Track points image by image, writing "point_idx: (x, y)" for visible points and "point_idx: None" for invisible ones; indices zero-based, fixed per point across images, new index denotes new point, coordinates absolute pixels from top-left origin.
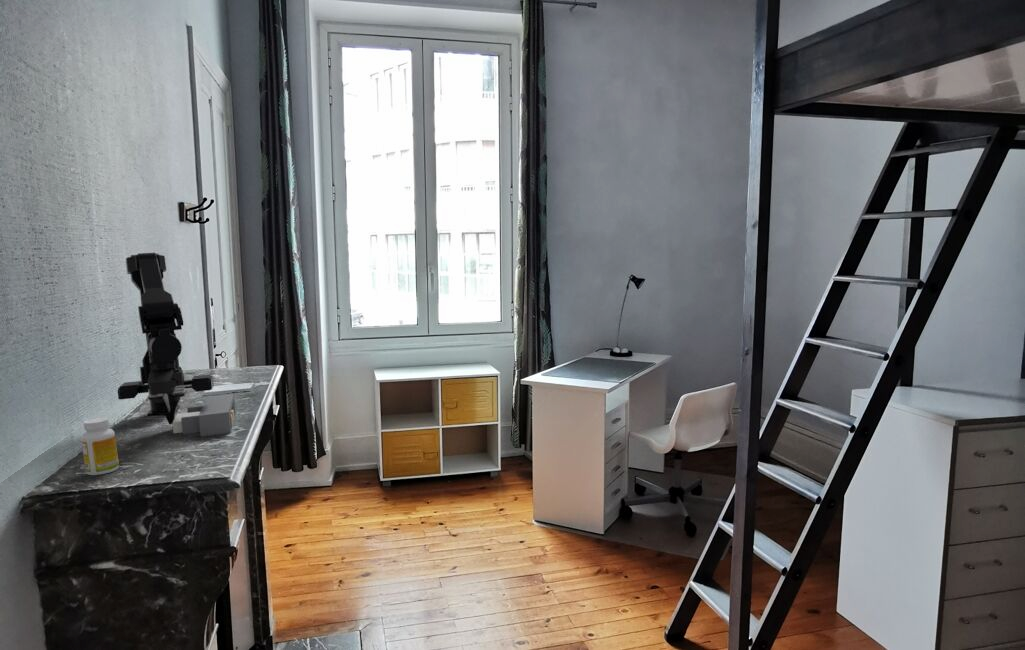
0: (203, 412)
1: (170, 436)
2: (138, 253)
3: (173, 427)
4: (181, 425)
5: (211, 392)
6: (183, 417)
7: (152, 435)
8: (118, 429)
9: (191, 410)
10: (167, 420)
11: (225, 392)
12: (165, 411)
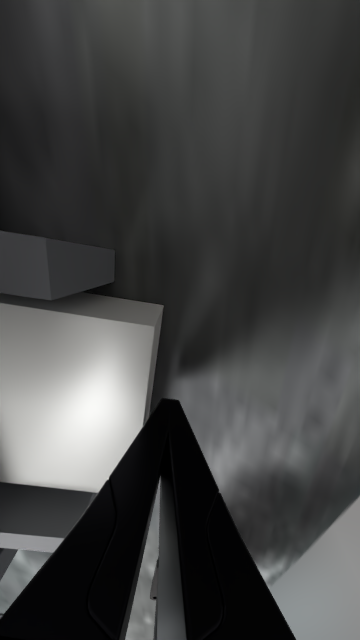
0: None
1: (179, 251)
2: None
3: (156, 313)
4: (106, 308)
5: None
6: (33, 290)
7: (257, 336)
8: (339, 490)
9: (65, 509)
10: (185, 415)
11: None
12: (195, 485)
